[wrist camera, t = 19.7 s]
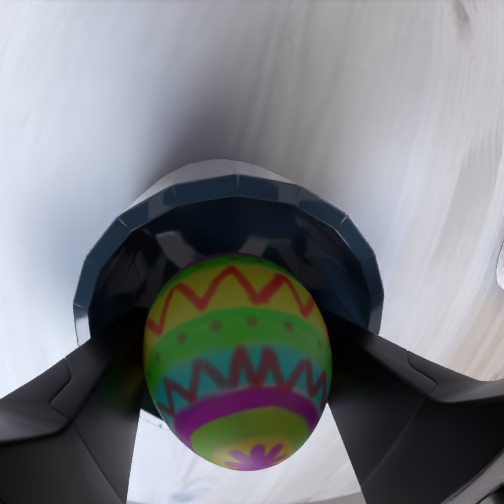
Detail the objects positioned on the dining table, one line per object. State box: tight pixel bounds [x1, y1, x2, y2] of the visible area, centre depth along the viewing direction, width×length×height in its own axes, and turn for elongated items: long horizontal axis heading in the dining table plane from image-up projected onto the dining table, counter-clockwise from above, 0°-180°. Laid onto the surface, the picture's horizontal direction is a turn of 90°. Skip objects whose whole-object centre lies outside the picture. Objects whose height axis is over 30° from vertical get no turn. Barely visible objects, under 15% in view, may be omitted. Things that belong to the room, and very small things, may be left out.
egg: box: [142, 252, 332, 471], centre depth 7 cm, size 5×5×6 cm
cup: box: [73, 159, 384, 430], centre depth 11 cm, size 9×9×7 cm
